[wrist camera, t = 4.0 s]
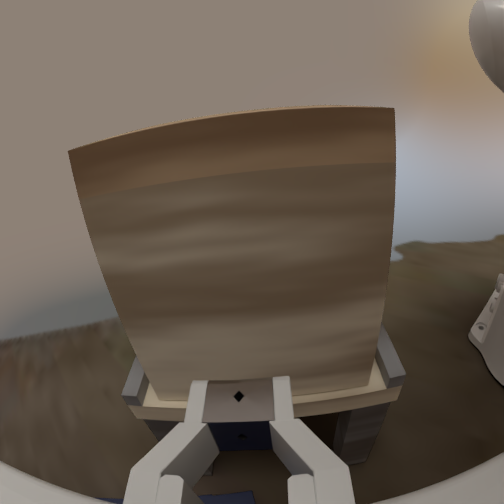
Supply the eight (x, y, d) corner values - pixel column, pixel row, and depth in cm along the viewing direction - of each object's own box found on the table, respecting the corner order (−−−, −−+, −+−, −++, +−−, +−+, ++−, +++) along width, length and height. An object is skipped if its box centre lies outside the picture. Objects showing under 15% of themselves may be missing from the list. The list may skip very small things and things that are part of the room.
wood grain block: (368, 384, 15) (394, 108, 9) (159, 399, 16) (67, 150, 10) (328, 275, 26) (322, 105, 20) (190, 288, 27) (156, 124, 20)
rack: (368, 463, 20) (406, 374, 14) (181, 476, 21) (121, 395, 15) (326, 309, 40) (327, 221, 35) (207, 319, 41) (188, 235, 35)
